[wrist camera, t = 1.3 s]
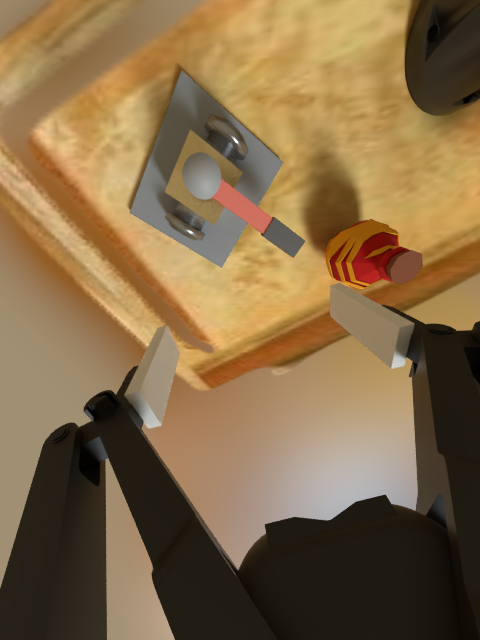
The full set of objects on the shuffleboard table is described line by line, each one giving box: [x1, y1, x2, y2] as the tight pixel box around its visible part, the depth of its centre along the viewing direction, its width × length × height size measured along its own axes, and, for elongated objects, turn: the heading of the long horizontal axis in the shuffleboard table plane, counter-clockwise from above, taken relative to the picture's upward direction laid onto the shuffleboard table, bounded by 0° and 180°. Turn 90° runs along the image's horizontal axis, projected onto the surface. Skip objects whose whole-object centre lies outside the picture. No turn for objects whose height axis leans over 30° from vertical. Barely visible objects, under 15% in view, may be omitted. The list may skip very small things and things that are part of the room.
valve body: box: [165, 115, 248, 241], centre depth 27 cm, size 14×7×8 cm, turn 148°
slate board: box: [130, 70, 283, 268], centre depth 30 cm, size 18×16×1 cm
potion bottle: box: [325, 219, 423, 289], centre depth 31 cm, size 10×10×15 cm
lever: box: [182, 152, 305, 258], centre depth 24 cm, size 16×4×2 cm, turn 58°
